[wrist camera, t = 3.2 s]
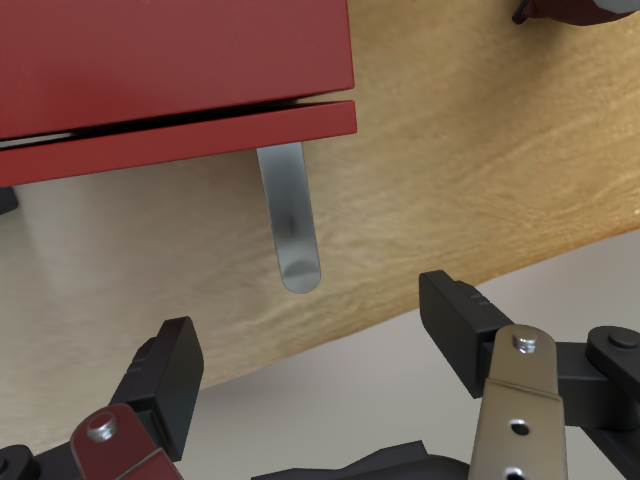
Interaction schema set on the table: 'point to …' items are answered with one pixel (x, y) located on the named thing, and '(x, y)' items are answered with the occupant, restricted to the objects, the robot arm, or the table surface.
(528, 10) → the mate gourd
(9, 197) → the calculator
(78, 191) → the table surface
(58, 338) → the table surface
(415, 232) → the table surface
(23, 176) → the red cabinet door
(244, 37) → the cabinet
